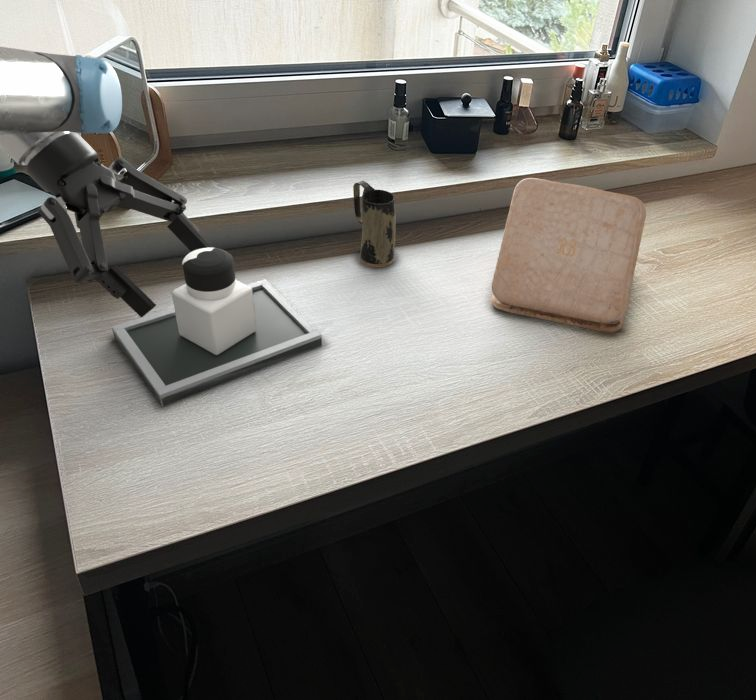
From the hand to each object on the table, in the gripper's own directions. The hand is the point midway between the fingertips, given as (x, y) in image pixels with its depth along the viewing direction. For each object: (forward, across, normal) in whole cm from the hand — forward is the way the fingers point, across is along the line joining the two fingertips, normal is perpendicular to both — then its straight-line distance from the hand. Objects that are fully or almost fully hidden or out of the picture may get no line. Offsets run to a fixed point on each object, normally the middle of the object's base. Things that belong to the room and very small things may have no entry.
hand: (181, 283), depth 93 cm
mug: (+17, -29, +5) cm, 34 cm away
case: (+39, -32, +27) cm, 57 cm away
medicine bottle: (+8, 0, -2) cm, 8 cm away
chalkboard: (+9, 0, -3) cm, 9 cm away
